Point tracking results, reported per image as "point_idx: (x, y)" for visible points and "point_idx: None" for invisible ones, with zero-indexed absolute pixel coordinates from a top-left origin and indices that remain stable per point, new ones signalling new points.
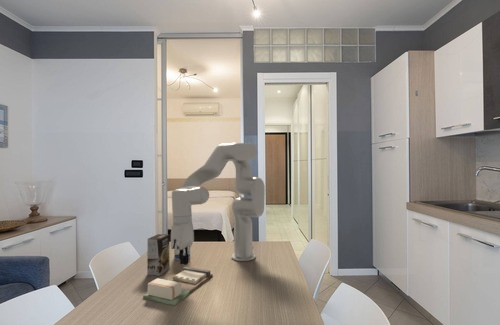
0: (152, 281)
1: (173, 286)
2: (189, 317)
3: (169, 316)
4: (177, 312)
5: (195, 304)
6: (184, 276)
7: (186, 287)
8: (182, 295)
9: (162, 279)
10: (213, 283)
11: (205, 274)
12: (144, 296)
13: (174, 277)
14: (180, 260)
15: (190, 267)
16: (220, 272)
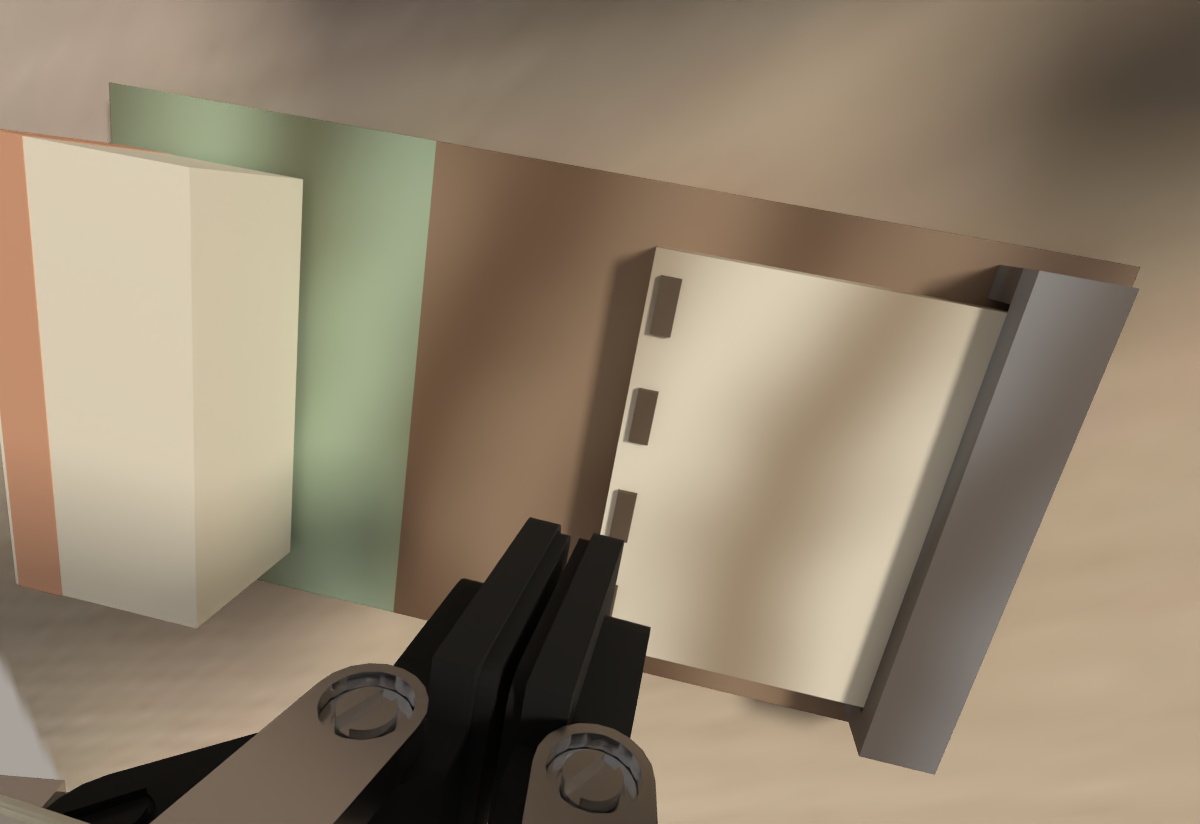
0: (58, 161)
1: (68, 576)
2: (64, 718)
3: (5, 565)
4: (78, 605)
5: (244, 707)
6: (701, 435)
7: (466, 545)
8: (279, 572)
9: (180, 300)
10: (712, 768)
11: (848, 696)
12: (119, 108)
13: (651, 278)
14: (445, 604)
15: (1072, 417)
16: (1086, 787)
